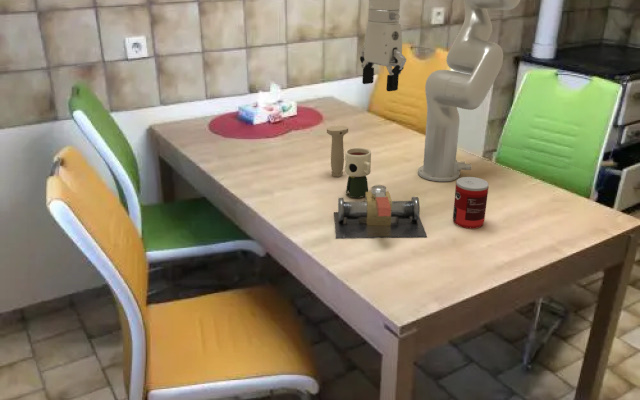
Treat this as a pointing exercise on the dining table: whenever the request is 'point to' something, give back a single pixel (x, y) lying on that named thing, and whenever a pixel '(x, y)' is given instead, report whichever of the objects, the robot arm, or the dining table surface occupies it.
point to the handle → (337, 149)
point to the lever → (381, 200)
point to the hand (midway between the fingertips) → (379, 86)
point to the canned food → (470, 202)
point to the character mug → (357, 171)
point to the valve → (378, 219)
